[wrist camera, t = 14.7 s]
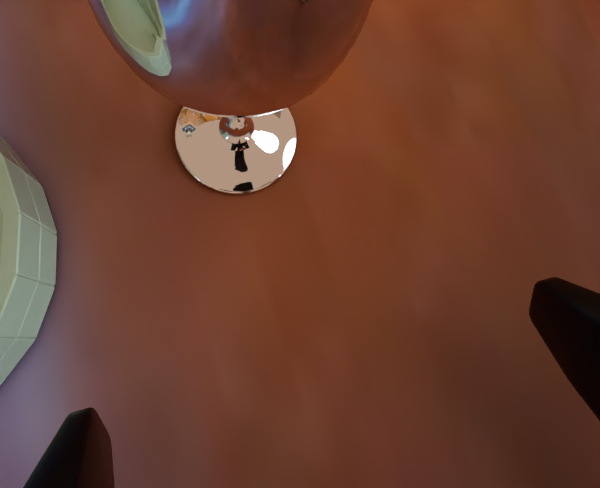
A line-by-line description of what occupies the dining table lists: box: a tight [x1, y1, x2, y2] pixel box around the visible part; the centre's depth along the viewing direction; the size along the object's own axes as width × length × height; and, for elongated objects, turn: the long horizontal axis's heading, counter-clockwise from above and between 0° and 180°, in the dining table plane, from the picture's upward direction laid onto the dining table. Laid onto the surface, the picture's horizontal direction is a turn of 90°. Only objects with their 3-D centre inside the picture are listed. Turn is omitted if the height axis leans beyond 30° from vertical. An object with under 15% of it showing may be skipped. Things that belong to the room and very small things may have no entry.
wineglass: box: [88, 0, 373, 194], centre depth 13 cm, size 6×6×12 cm
